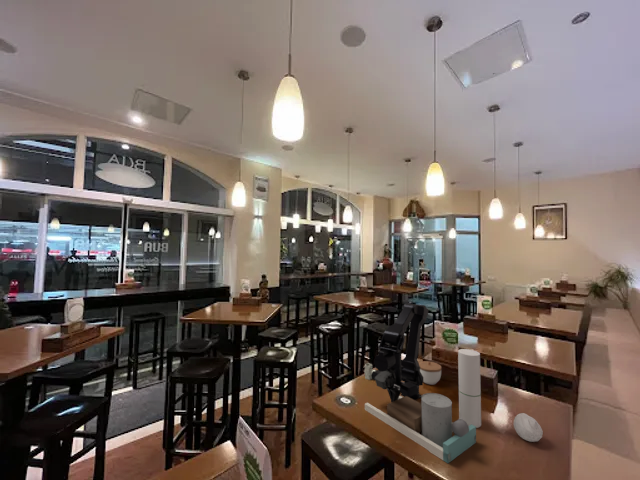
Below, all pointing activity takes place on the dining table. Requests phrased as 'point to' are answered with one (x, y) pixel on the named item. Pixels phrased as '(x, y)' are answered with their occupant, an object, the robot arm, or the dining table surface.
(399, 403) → the carriage
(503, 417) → the dining table surface
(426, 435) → the grey concrete cylinder
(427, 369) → the lidded jar
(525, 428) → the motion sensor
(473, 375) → the cylindrical container
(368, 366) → the valve
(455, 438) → the bay
